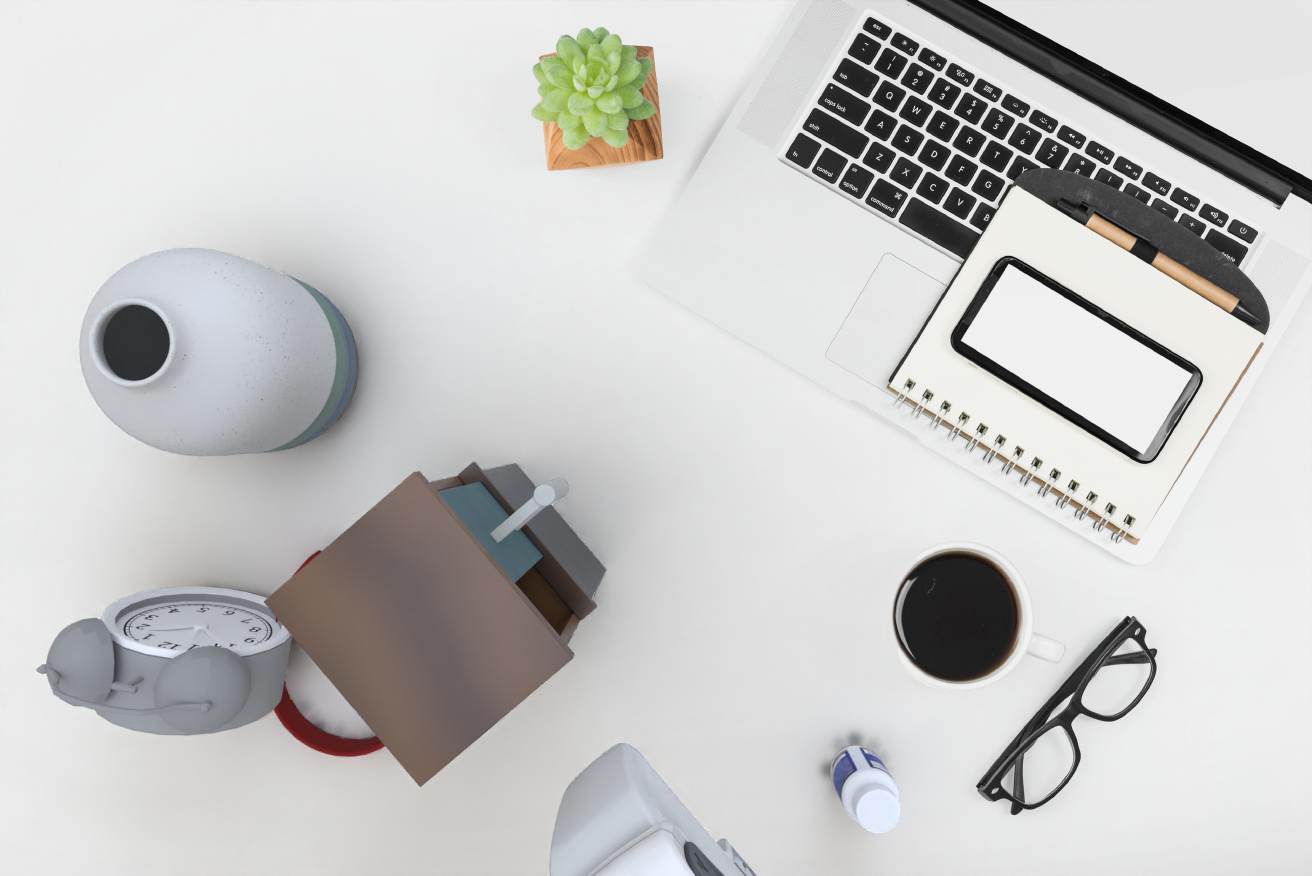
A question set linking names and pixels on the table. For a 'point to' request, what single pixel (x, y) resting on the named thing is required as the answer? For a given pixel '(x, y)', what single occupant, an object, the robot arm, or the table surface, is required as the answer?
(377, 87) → the table surface
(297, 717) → the headphones
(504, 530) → the sliding door
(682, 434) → the table surface
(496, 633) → the cabinet
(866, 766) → the pill bottle
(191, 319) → the vase
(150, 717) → the alarm clock
